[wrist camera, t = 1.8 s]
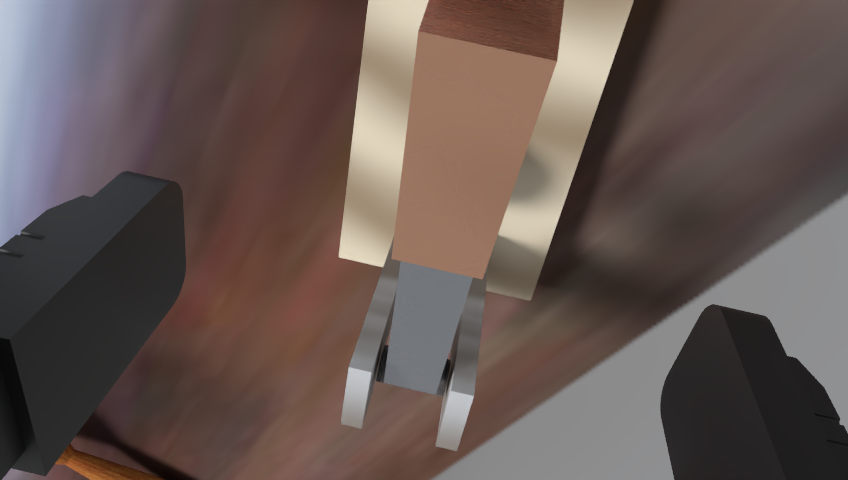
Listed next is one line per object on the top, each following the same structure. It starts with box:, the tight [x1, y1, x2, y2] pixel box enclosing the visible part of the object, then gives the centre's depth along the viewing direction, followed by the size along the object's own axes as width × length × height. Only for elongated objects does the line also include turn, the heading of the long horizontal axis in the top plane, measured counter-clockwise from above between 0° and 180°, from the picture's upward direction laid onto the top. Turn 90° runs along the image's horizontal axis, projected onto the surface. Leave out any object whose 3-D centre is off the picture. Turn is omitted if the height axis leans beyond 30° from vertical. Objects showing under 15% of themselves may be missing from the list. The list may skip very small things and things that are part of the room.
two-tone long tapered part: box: [55, 444, 165, 480], centre depth 45 cm, size 6×6×20 cm
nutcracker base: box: [339, 0, 634, 451], centre depth 23 cm, size 20×10×12 cm, turn 170°
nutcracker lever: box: [376, 0, 564, 397], centre depth 19 cm, size 17×3×4 cm, turn 170°
